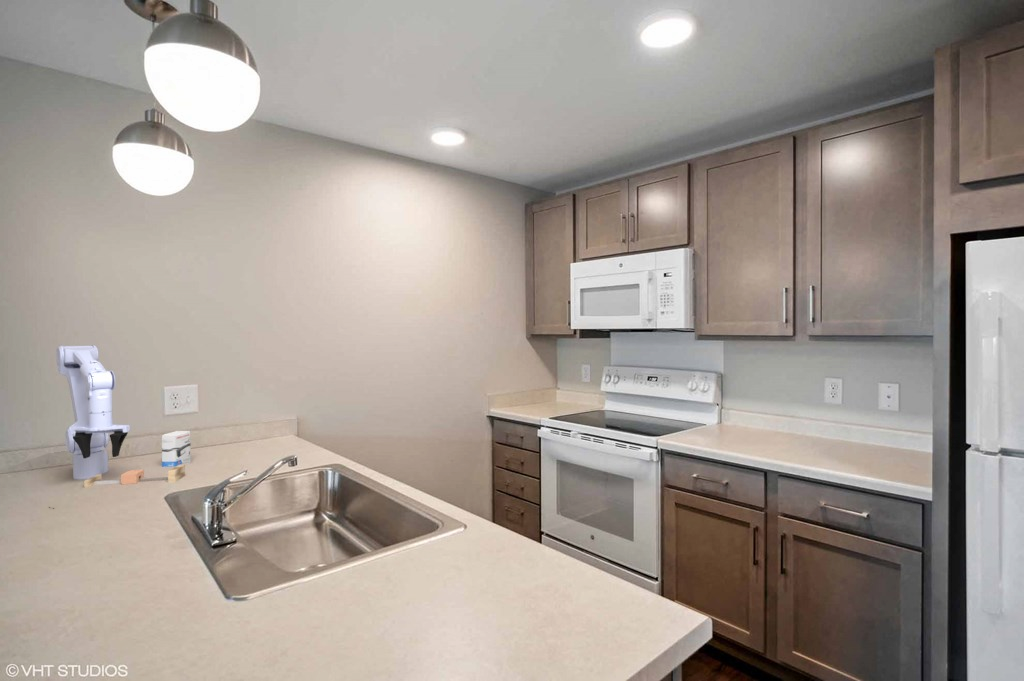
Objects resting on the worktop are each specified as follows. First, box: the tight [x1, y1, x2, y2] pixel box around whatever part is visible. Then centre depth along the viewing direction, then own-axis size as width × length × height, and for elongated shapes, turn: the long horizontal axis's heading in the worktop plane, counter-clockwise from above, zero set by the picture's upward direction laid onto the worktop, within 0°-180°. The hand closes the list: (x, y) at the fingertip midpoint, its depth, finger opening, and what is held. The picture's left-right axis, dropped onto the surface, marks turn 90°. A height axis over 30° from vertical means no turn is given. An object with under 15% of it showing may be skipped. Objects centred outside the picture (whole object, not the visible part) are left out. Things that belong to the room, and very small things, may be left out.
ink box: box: [161, 430, 192, 468], centre depth 177 cm, size 8×5×12 cm, turn 179°
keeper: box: [120, 469, 145, 485], centre depth 156 cm, size 5×4×3 cm
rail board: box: [83, 464, 186, 489], centre depth 156 cm, size 7×24×4 cm, turn 102°
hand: (101, 456), depth 153 cm, fingers open, 7 cm apart
